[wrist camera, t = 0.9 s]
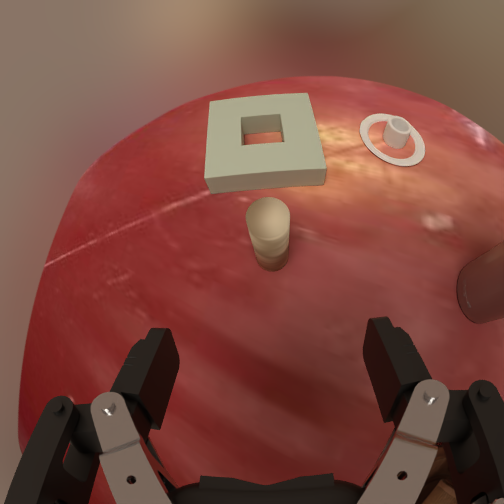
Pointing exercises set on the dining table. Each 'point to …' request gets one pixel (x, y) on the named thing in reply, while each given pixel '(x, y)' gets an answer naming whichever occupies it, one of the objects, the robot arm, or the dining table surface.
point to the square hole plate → (263, 155)
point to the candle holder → (394, 138)
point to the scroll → (438, 483)
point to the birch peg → (269, 232)
